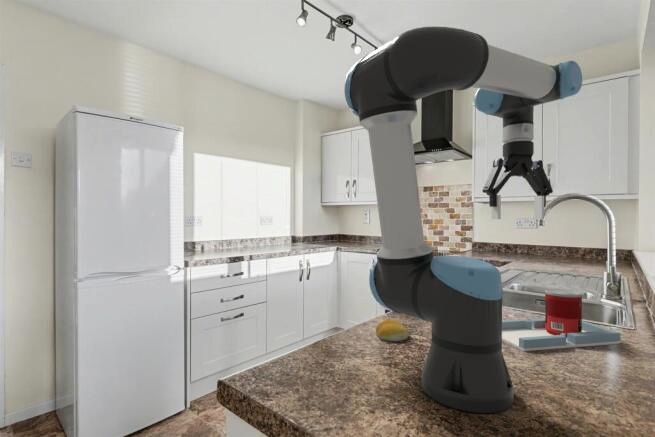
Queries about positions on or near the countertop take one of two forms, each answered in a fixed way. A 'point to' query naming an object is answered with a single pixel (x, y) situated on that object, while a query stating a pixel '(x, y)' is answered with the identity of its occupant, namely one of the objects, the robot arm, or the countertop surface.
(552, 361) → the countertop surface
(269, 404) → the countertop surface
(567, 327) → the canned food
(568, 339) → the track
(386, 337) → the bread roll
